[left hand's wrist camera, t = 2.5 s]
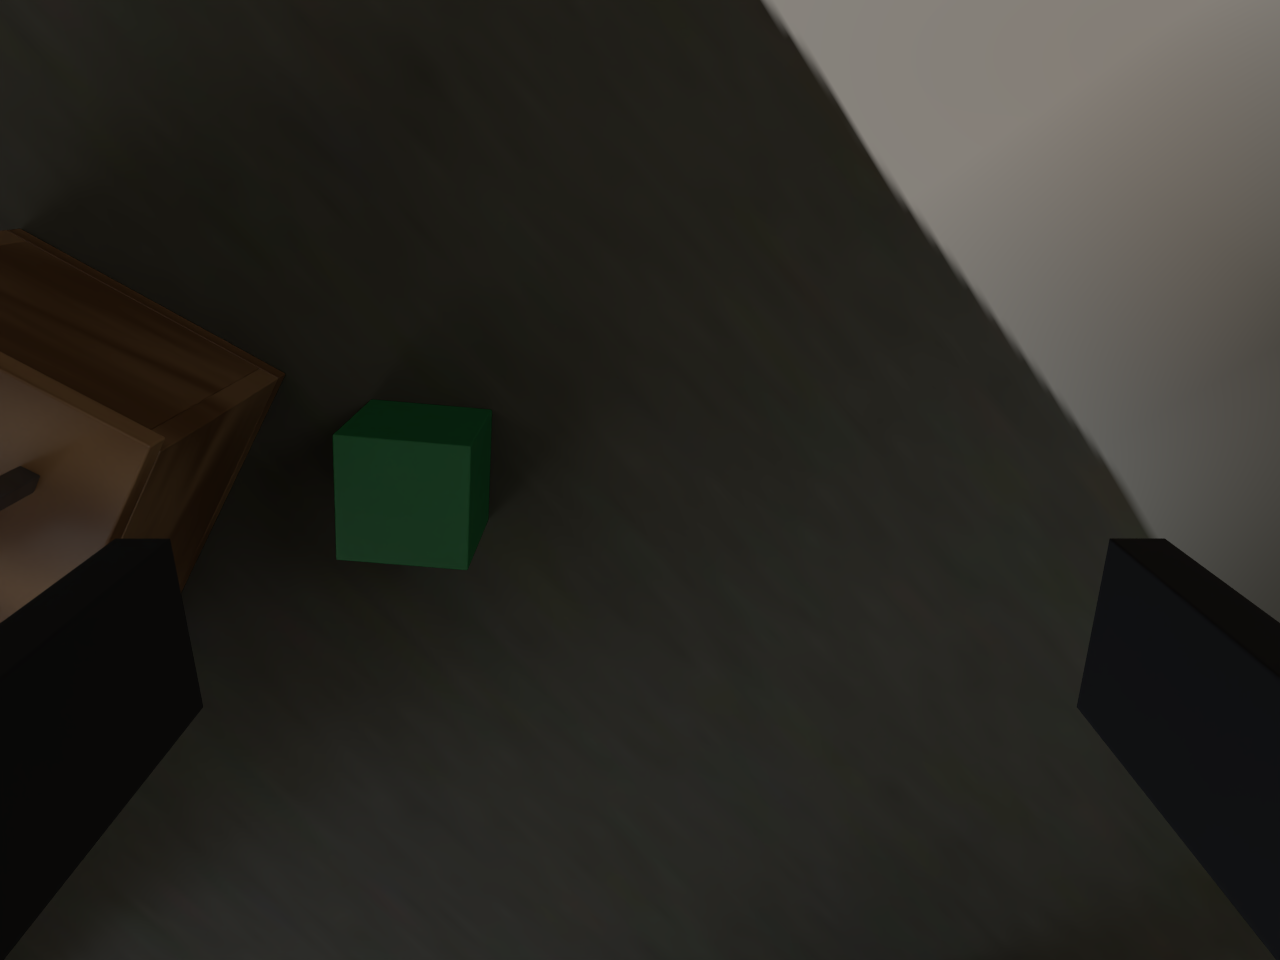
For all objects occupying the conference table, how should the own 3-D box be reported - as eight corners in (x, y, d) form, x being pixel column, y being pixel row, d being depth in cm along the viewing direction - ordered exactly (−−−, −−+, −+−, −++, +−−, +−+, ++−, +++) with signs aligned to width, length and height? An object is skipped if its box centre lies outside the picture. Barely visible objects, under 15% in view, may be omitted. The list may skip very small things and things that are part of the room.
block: (370, 399, 40) (331, 434, 35) (492, 409, 41) (471, 446, 35) (372, 510, 42) (335, 560, 37) (488, 520, 43) (467, 570, 37)
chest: (19, 227, 38) (-218, 256, 27) (286, 373, 40) (160, 451, 30) (-91, 539, 43) (-328, 664, 32) (152, 654, 45) (3, 806, 34)
